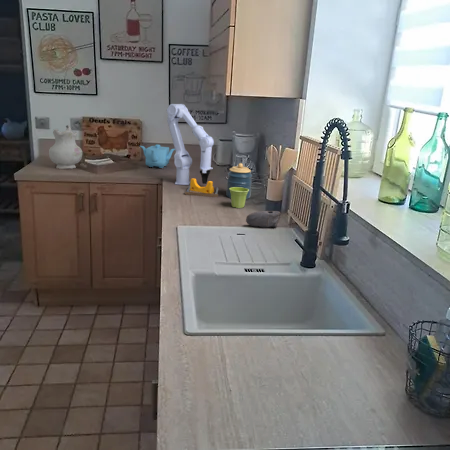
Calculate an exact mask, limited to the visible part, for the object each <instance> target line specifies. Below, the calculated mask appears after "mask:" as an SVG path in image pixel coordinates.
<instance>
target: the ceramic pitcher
mask: <svg viewBox="0 0 450 450" xmlns="http://www.w3.org/2000/svg"><path fill="white" fill-rule="evenodd" d="M65 127H66V129H65V131H63V130H62V131H59V128H54V129H53V130H52V131H53V132H52V134H53V136H54V141H55V142H54V144H53V145H52V146H50V148H49V149H48V156H49V159H50V161H51V162H52V163H53V164H55V165H56V166H55V167H56V169H57V168H59V169H58V170H65V169H67V170H68V169H71V170H73V169H75V168H76V167H77V166H76V164H78V163H80V162H81V160H82V158H83V150H82V148H81V147H80V146H79V145H77V142H76V137H77V136H78V133H77V132H76V131H75V132H73V131H72V128H71V126H70V125H69V124H67V125H65Z"/></svg>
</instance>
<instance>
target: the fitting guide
mask: <svg viewBox="0 0 450 450" xmlns="http://www.w3.org/2000/svg"><path fill="white" fill-rule="evenodd" d="M218 193H219V187H216V189H215V193H202V192H196V191H190V184H189V185H188V187H187V190H186V191H184V194H185V195H186V196H193V197H194V196H195V197H196V196H197V197H210V198H218V197H219V194H218Z"/></svg>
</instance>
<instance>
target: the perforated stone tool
mask: <svg viewBox="0 0 450 450" xmlns="http://www.w3.org/2000/svg"><path fill="white" fill-rule="evenodd" d="M281 214H282V213H281V212H280V211H278V210H263V211H256V212H252V213H250V214H248V215H246V218H245V222H246V223H247V225H249V226H251V227H258V226H259V228H271V227H272V228H277V226H278V224H279V223H280V219H281V216H282V215H281Z"/></svg>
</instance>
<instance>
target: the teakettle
mask: <svg viewBox="0 0 450 450" xmlns="http://www.w3.org/2000/svg"><path fill="white" fill-rule="evenodd" d="M139 147H140V148H141V149H142V150H143V155H144V157H145V166H147V167H153V168H154V167H158V169H159V168H165V167H164V166H166V167H167V165H168V164H170V159H171V158H172V154H173V153H174V151H175V148H171V149H170V147H169V146H161V144H155V145H151V146H148V147H147V148H146V147H145V146H144V145H139Z"/></svg>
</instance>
